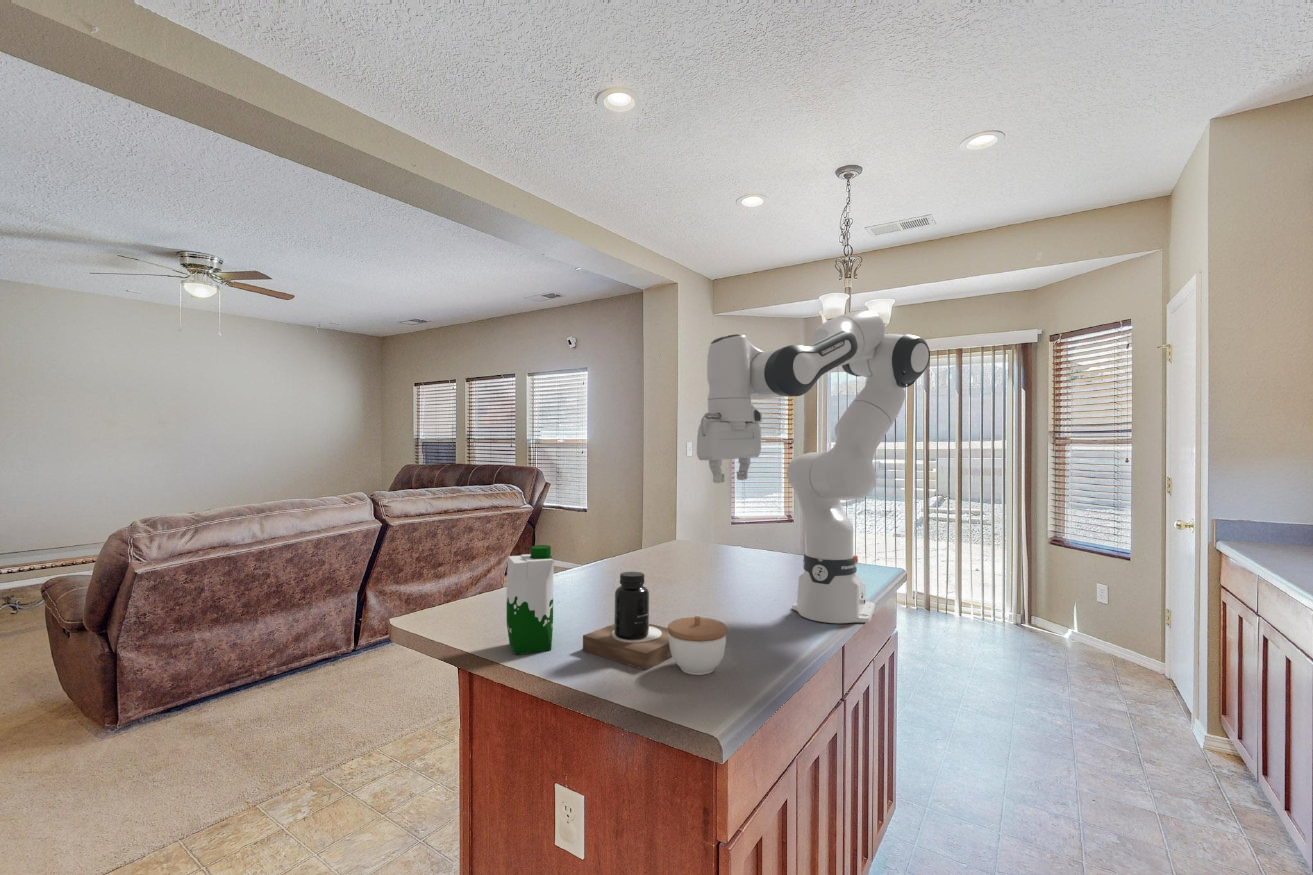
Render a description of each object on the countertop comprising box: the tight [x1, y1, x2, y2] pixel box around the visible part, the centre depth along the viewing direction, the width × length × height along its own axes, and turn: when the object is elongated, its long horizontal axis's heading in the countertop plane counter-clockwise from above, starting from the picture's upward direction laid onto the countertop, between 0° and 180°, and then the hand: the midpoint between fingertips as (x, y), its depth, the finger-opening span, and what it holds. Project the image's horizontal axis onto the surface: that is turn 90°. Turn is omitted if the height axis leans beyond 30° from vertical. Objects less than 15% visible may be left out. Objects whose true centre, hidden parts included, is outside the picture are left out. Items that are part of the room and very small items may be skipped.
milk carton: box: [506, 544, 555, 656], centre depth 115 cm, size 9×9×20 cm
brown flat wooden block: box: [582, 623, 673, 671], centre depth 113 cm, size 14×16×3 cm
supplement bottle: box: [613, 571, 650, 640], centre depth 112 cm, size 7×7×12 cm
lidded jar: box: [667, 615, 728, 676], centre depth 104 cm, size 11×11×9 cm
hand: (730, 481), depth 116 cm, fingers open, 8 cm apart
